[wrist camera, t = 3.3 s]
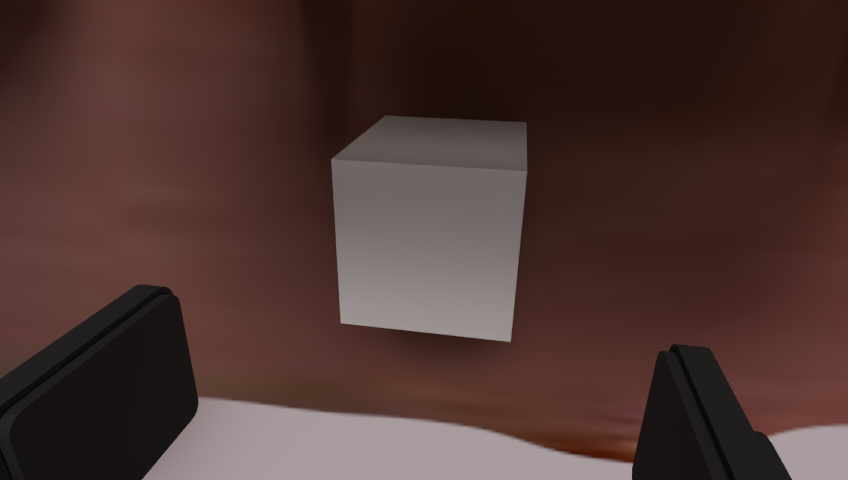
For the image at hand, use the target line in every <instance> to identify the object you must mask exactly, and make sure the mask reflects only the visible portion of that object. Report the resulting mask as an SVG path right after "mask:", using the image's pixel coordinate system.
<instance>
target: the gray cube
mask: <svg viewBox="0 0 848 480" xmlns="http://www.w3.org/2000/svg"><path fill="white" fill-rule="evenodd" d="M331 164H332V181H333V198H334V215H335V233H336V250H337V267H338V284H339V301H340V318H341V323H344V324H353V325H362V326H371V327H380V328H389V329H398V330H407V331H416V332H425V333H435V334H444V335H453V336H462V337H471V338H480V339H489V340H498V341H507V342H511V334H512V323H513V313H514V303H515V292H516V282H517V272H518V261H519V251H520V241H521V230H522V220H523V210H524V199H525V189H526V179H527V122H509V121H488V120H468V119H447V118H426V117H406V116H384V117H383V118H382V119H381V120H379V121H378V122H377V123H376V124H374V125H373V126H372V127H371V128H369V129H368V130H367V131H366V132H364V133H363V134H362V135H361V136H359V137H358V138H357V139H356V140H354V141H353V142H352V143H351V144H349V145H348V146H347V147H346V148H344V149H343V150H342V151H341V152H340V153H338V154H337V155H336V156H335V157H333V158H332V159H331Z"/></svg>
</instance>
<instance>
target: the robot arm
mask: <svg viewBox="0 0 848 480" xmlns="http://www.w3.org/2000/svg"><path fill="white" fill-rule="evenodd" d="M197 408H198V396H197V391H196V385H195V380H194V375H193V370H192V364H191V359H190V354H189V349H188V344H187V338H186V333H185V328H184V323H183V317H182V312H181V307H180V302H179V299H178V298H177V297H176V296H174V295H173V293H172V291H171V290H170V289H169V288H167V287H160V286H151V285H137V286H135V287H133V288H132V289H130V290H129V291H127V292H126V293H124V294H123V295H121V296H120V297H119V298H117V299H116V300H114V301H113V302H111V303H110V304H108V305H107V306H105V307H104V308H103V309H101V310H100V311H98V312H97V313H95V314H94V315H92V316H91V317H89V318H88V319H87V320H85V321H84V322H82V323H81V324H79V325H78V326H76V327H75V328H73V329H72V330H71V331H69V332H68V333H66V334H65V335H63V336H62V337H60V338H59V339H58V340H56V341H55V342H53V343H52V344H50V345H49V346H47V347H46V348H44V349H43V350H42V351H40V352H39V353H37V354H36V355H34V356H33V357H31V358H30V359H28V360H27V361H26V362H24V363H23V364H21V365H20V366H18V367H17V368H15V369H14V370H13V371H11V372H10V373H8V374H7V375H5V376H4V377H2V378H1V379H0V480H142V479H143V477H144V476H145V475H146V474H147V472H148V471H149V470H150V469H151V468H152V467H153V465H154V464H155V463H156V462H157V461H158V460H159V458H160V457H161V456H162V455H163V454H164V452H165V451H166V450H167V449H168V448H169V446H170V445H171V444H172V443H173V442H174V440H175V439H176V438H177V437H178V436H179V434H180V433H181V432H182V431H183V429H184V428H185V427H186V426H187V425H188V424H189V423H190V421H191V420H192V419H193V417H194V416H195V414H196V411H197ZM632 480H792V479H791V477H790V475H789V474H788V472H787V470H786V468H785V466H784V464H783V463H782V461H781V459H780V457H779V455H778V454H777V452H776V450H775V448H774V446H773V445H772V443H771V442H770V440H769V439H768V437H767V436H766V435H764V434H763V433H761V432H757V431H753V429H752V427H751V425H750V423H749V421H748V419H747V417H746V415H745V414H744V412H743V410H742V408H741V406H740V404H739V402H738V400H737V398H736V397H735V395H734V393H733V391H732V389H731V387H730V385H729V383H728V381H727V380H726V378H725V376H724V374H723V372H722V370H721V368H720V366H719V364H718V363H717V361H716V359H715V357H714V355H713V353H712V351H711V350H710V349H709V348H705V347H696V346H687V345H678V344H673V345H672V346H671V348H670V350H669V352H667V351H660V352H659V354H658V357H657V360H656V365H655V369H654V374H653V378H652V382H651V387H650V391H649V396H648V400H647V404H646V409H645V413H644V418H643V422H642V426H641V431H640V435H639V440H638V444H637V448H636V453H635V457H634V462H633V467H632Z"/></svg>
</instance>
